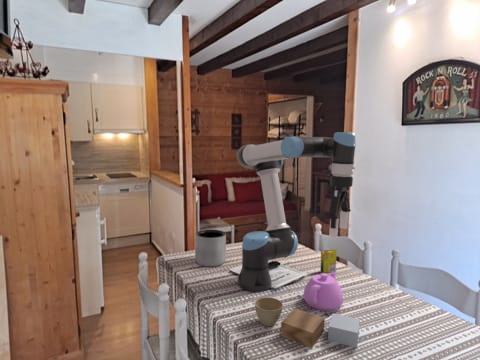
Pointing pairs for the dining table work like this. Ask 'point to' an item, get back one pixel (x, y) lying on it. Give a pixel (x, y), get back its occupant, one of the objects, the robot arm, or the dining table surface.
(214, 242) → the planter
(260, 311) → the tan cup
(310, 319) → the walnut block
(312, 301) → the teapot
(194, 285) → the dining table surface
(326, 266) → the crayon box
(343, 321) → the slate block
